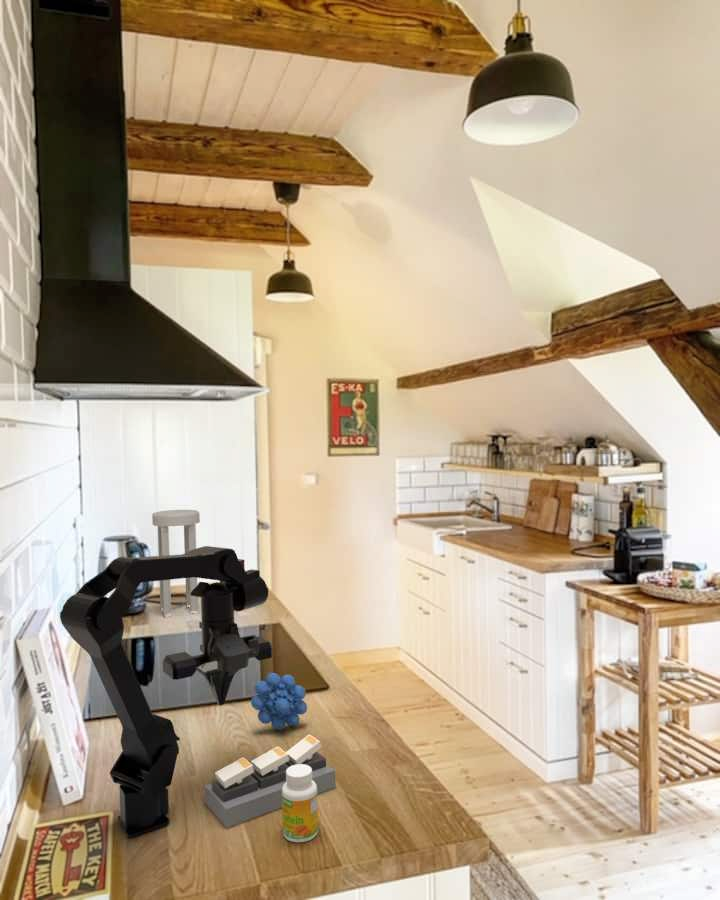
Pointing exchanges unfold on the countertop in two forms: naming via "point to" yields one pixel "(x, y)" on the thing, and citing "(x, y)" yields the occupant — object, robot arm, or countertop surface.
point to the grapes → (279, 701)
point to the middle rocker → (270, 761)
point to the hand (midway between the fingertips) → (220, 704)
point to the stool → (163, 521)
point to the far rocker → (304, 749)
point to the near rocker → (234, 772)
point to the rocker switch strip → (261, 792)
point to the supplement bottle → (299, 804)
